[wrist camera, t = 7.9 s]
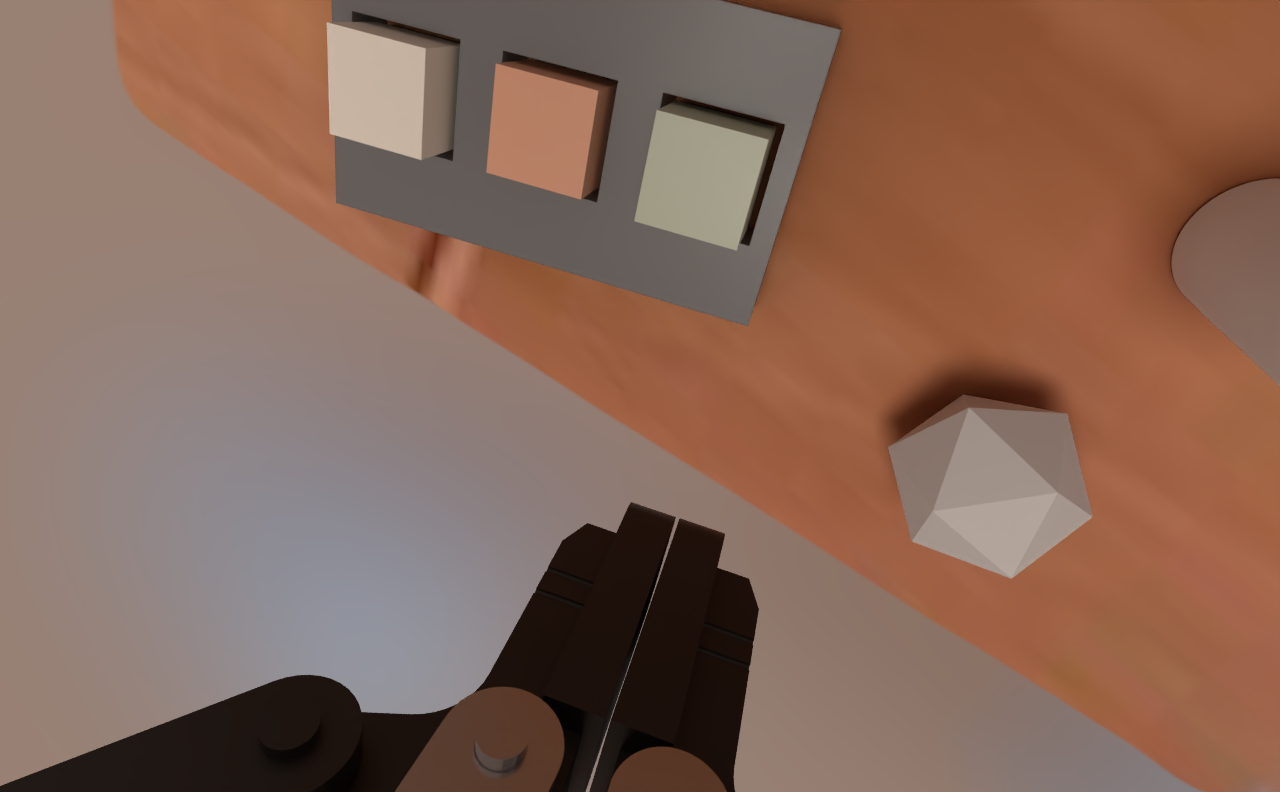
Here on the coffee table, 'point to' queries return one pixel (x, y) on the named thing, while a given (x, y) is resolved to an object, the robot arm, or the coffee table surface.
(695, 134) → the key sage
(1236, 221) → the mug
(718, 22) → the key panel
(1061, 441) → the die
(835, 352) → the coffee table surface
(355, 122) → the key ivory
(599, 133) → the key terracotta
